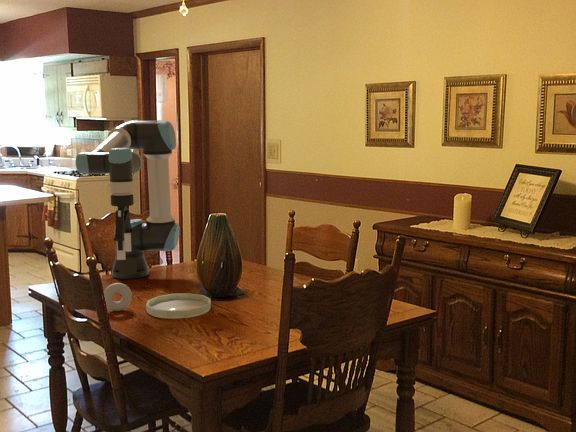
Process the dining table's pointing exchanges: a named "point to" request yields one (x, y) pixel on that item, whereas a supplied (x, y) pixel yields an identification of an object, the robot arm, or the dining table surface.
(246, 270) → the dining table surface
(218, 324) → the dining table surface
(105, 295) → the donut
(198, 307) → the dish
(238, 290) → the dark slate chunk
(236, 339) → the dining table surface
